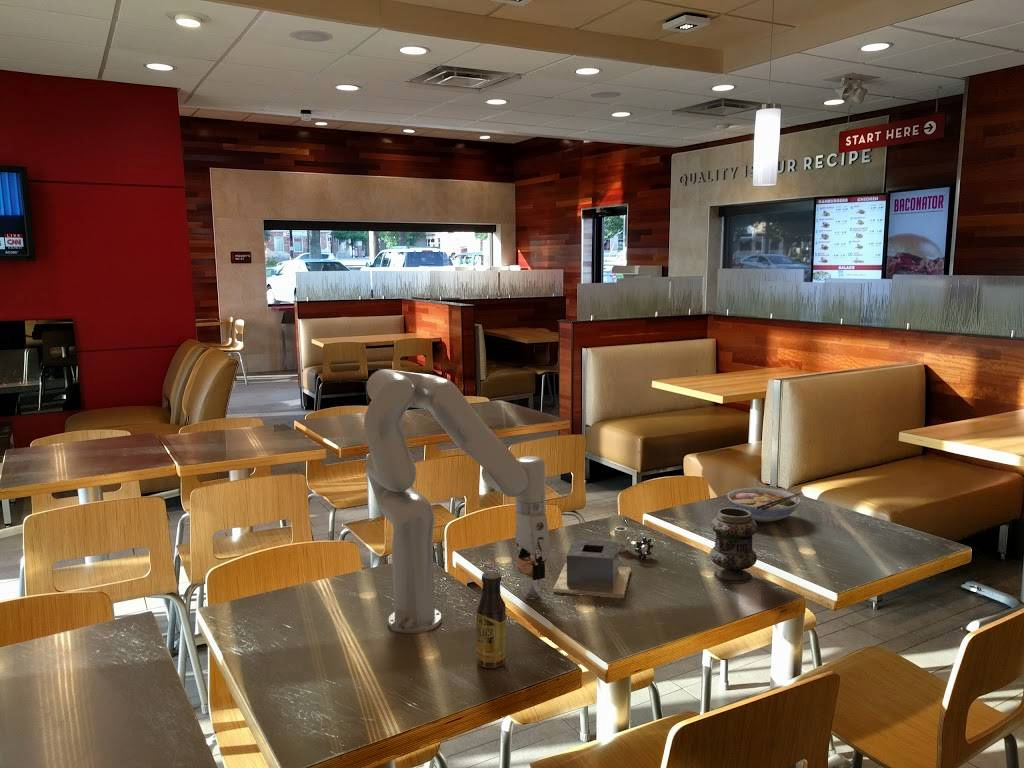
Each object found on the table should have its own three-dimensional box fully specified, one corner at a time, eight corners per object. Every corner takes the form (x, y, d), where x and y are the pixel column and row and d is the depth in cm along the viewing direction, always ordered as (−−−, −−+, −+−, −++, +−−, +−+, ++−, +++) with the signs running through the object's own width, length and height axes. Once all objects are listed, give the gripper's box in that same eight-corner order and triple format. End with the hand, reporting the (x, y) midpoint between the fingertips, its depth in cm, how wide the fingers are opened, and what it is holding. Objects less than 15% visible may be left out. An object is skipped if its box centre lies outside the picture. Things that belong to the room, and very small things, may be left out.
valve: (607, 550, 230) (637, 562, 221) (607, 529, 229) (637, 540, 220) (623, 545, 234) (653, 557, 225) (623, 524, 233) (653, 535, 224)
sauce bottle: (470, 663, 166) (467, 574, 163) (491, 652, 170) (489, 565, 167) (491, 674, 161) (489, 582, 159) (513, 663, 166) (511, 573, 163)
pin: (542, 602, 195) (542, 566, 194) (515, 600, 197) (514, 564, 195) (548, 591, 202) (547, 556, 200) (521, 589, 204) (521, 554, 202)
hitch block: (623, 598, 197) (623, 563, 195) (553, 592, 201) (552, 558, 200) (630, 571, 214) (630, 539, 213) (565, 566, 218) (565, 535, 217)
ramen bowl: (754, 503, 272) (754, 480, 271) (815, 519, 255) (816, 494, 254) (710, 519, 257) (710, 495, 255) (772, 536, 239) (773, 510, 238)
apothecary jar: (759, 571, 212) (761, 507, 210) (752, 588, 201) (754, 521, 199) (714, 565, 217) (715, 502, 215) (705, 581, 206) (706, 515, 204)
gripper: (560, 513, 190) (561, 582, 192) (527, 495, 205) (529, 559, 208) (533, 517, 186) (534, 588, 189) (502, 499, 202) (503, 565, 205)
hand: (531, 573), depth 198 cm, fingers closed on pin, 7 cm apart
